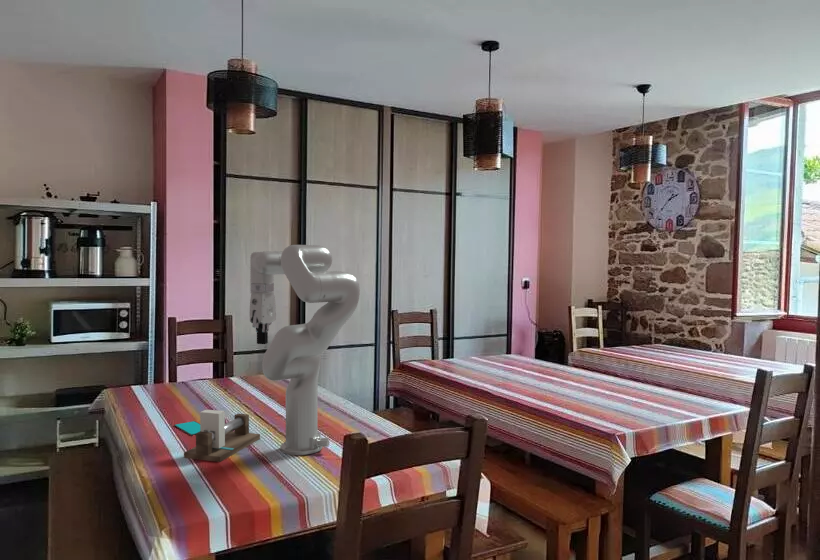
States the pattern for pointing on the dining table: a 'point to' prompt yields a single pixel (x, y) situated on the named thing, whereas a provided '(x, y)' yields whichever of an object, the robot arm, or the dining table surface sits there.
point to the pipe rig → (232, 441)
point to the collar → (214, 425)
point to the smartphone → (189, 427)
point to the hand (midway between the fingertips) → (262, 343)
